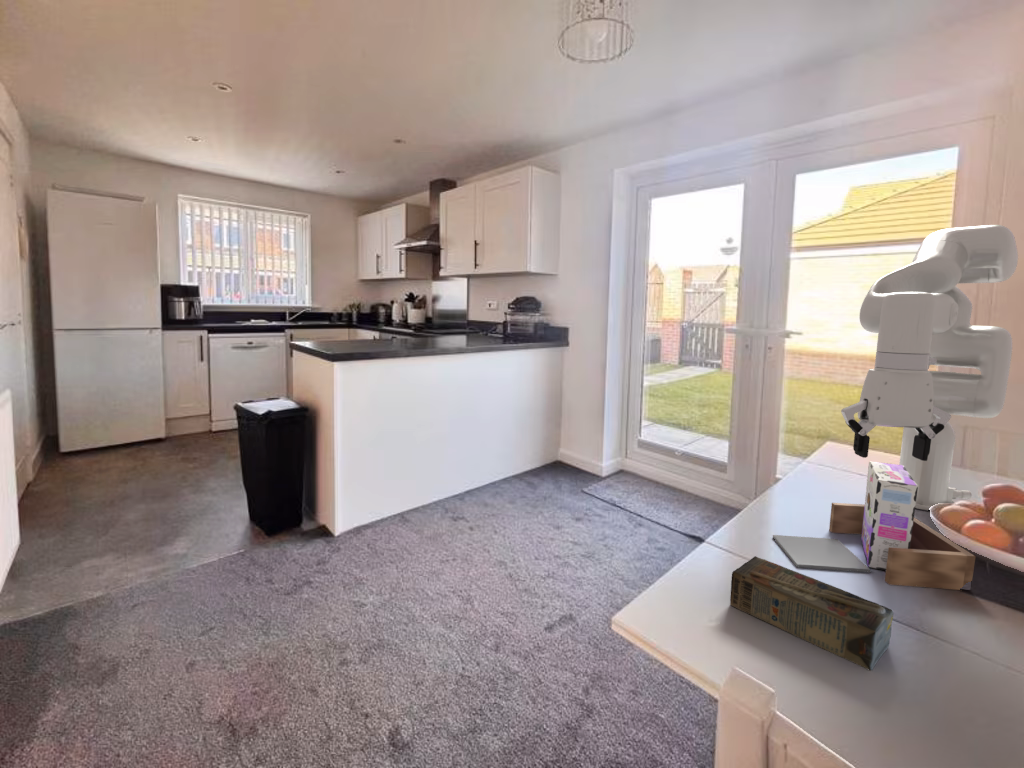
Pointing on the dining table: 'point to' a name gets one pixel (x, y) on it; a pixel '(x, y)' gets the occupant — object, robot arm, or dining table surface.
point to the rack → (913, 553)
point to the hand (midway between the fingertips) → (889, 457)
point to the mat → (820, 553)
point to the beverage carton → (813, 611)
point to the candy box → (887, 511)
